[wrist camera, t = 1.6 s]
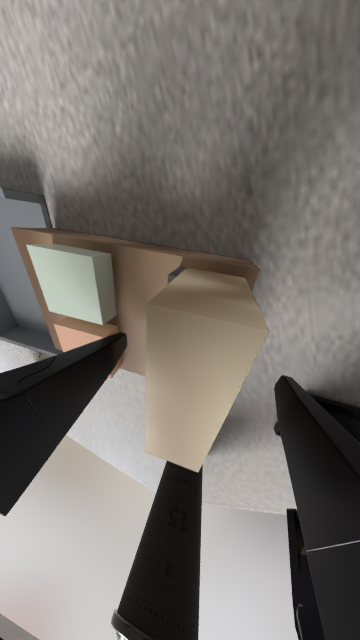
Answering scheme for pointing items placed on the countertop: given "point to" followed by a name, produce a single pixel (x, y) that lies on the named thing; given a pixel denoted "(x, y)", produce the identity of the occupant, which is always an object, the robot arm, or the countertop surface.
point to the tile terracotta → (83, 334)
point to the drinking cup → (166, 564)
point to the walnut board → (128, 279)
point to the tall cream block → (197, 360)
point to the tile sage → (75, 281)
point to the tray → (21, 275)
